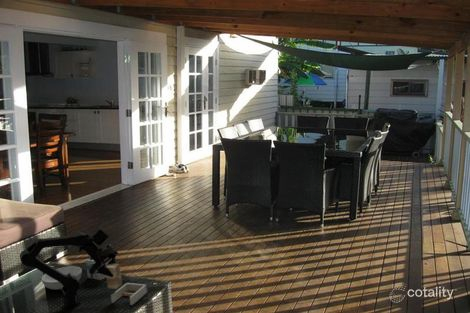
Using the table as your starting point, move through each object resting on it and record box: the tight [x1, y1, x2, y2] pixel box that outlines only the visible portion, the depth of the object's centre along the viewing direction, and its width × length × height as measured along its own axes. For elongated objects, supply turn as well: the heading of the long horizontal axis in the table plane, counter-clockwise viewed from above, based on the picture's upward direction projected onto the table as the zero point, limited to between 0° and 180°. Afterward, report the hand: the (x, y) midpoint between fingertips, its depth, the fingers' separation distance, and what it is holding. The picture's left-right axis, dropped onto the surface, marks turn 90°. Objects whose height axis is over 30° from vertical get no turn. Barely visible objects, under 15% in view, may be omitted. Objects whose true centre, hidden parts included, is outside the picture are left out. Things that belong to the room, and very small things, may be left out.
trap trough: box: [110, 282, 149, 306], centre depth 235 cm, size 14×12×4 cm
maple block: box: [105, 263, 123, 290], centre depth 233 cm, size 5×5×11 cm
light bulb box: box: [85, 257, 108, 281], centre depth 264 cm, size 11×7×11 cm, turn 62°
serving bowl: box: [41, 265, 83, 290], centre depth 257 cm, size 21×21×7 cm
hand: (115, 274), depth 232 cm, fingers closed on maple block, 5 cm apart
